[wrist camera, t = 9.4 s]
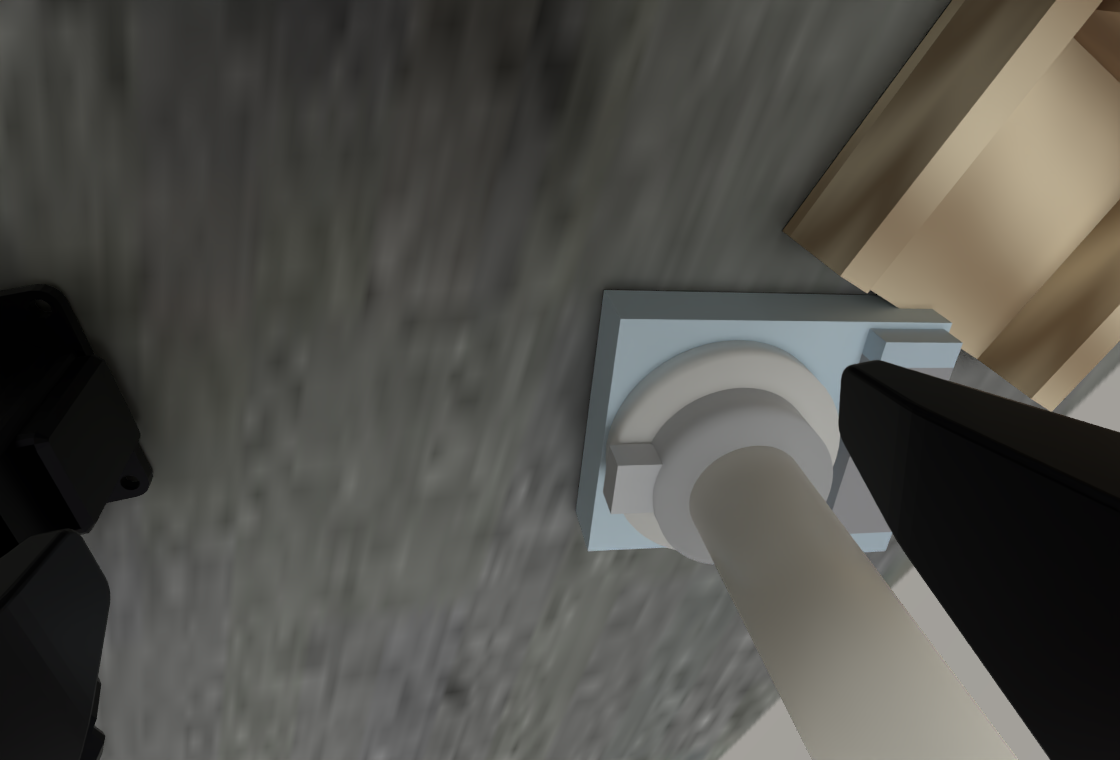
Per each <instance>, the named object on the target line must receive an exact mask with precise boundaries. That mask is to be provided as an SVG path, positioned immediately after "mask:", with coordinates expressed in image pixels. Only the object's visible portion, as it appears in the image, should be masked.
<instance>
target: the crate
mask: <svg viewBox="0 0 1120 760" xmlns="http://www.w3.org/2000/svg"><path fill="white" fill-rule="evenodd" d="M1073 38H1074V39H1075V40H1076V41H1077V42H1078V43H1079V44H1080V45H1081V46H1083V47H1084V48H1085V49H1086V50H1087V51H1088V52H1089V53H1090V54H1091V55H1092V56H1093V57H1094V58H1095V59H1096V60H1097V61H1098V62H1099V63H1100V64H1101V65H1102V66H1103V67H1104V68H1105V69H1106V70H1107V71H1108V72H1109V73H1110V74H1111V75H1112V76H1113V77H1114V78H1115V79H1116V80H1117V81H1118V82H1119V83H1120V0H1103V1H1102V2H1101V3H1100V5H1099V6H1098V7H1097V8H1096V10H1095V11H1094V12H1093V13H1092V15H1091V16H1090V17H1089V18H1088V19H1087V21H1086V22H1085V23H1084V24H1083V26H1082V27H1081V28H1080V29H1079V31H1078V32H1077V33H1076V34H1075V36H1074V37H1073Z"/></svg>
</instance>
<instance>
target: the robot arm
mask: <svg viewBox="0 0 1120 760" xmlns="http://www.w3.org/2000/svg"><path fill="white" fill-rule="evenodd" d="M35 299H36V300H43V301H45V302H47V303H48V304H49V305H50V306H51V310H52V311H51V312H46V311H43V310H41V309H39V308H38V307H37V305H36V303H35ZM838 426H839V432H840V436H841V439H842V442H843V444H844V446H845V447H846V449H847V451H848V453H849V455H850V457H851V459H852V460H853V462H854V464H855V466H856V468H857V470H858V471H859V473H860V475H861V477H862V479H863V481H864V482H865V484H866V486H867V488H868V490H869V492H870V494H871V495H872V497H873V499H874V501H875V503H876V505H877V506H878V508H879V510H880V512H881V514H882V516H883V517H884V519H885V521H886V523H887V525H888V527H889V528H890V530H891V532H892V533H893V535H894V537H895V539H896V540H897V542H898V543H899V545H900V546H901V548H902V549H903V551H904V552H905V554H906V555H907V557H908V558H909V560H910V561H911V562H912V564H913V565H914V567H915V568H916V569H917V571H918V572H919V574H920V575H921V577H922V578H923V580H924V581H925V582H926V584H927V585H928V587H929V588H930V590H931V591H932V592H933V594H934V595H935V596H936V598H937V599H938V601H939V602H940V604H941V605H942V607H943V608H944V609H945V611H946V612H947V614H948V615H949V616H950V618H951V619H952V621H953V622H954V624H955V625H956V626H957V628H958V629H959V631H960V632H961V634H962V635H963V636H964V638H965V639H966V641H967V642H968V644H969V645H970V646H971V648H972V649H973V651H974V652H975V654H976V655H977V656H978V658H979V659H980V661H981V662H982V663H983V665H984V666H985V668H986V669H987V671H988V672H989V673H990V675H991V676H992V678H993V679H994V681H995V682H996V683H997V685H998V686H999V688H1000V689H1001V691H1002V692H1003V693H1004V695H1005V696H1006V698H1007V699H1008V700H1009V702H1010V703H1011V705H1012V706H1013V707H1014V709H1015V710H1016V712H1017V713H1018V715H1019V716H1020V717H1021V719H1022V720H1023V722H1024V723H1025V725H1026V726H1027V727H1028V729H1029V730H1030V731H1031V733H1032V734H1033V736H1034V737H1035V739H1036V740H1037V742H1038V743H1039V744H1040V746H1041V747H1042V749H1043V750H1044V752H1045V753H1046V754H1047V756H1048V757H1049V759H1050V760H1120V432H1117V431H1113V430H1110V429H1107V428H1103V427H1100V426H1097V425H1093V424H1090V423H1087V422H1084V421H1080V420H1077V419H1074V418H1070V417H1067V416H1064V415H1060V414H1057V413H1054V412H1050V411H1047V410H1044V409H1041V408H1037V407H1034V406H1031V405H1027V404H1024V403H1021V402H1017V401H1014V400H1011V399H1007V398H1004V397H1001V396H998V395H994V394H991V393H988V392H984V391H981V390H978V389H974V388H971V387H968V386H964V385H961V384H958V383H954V382H951V381H948V380H945V379H941V378H938V377H935V376H931V375H928V374H925V373H921V372H918V371H915V370H911V369H908V368H905V367H902V366H898V365H895V364H892V363H888V362H885V361H882V360H872V361H867V362H862V363H857V364H853V365H849V366H847V367H846V368H845V369H844V370H843V373H842V376H841V385H840V401H839V418H838ZM140 436H141V435H140V431H139V429H138V427H137V425H136V423H135V421H134V419H133V417H132V415H131V413H130V411H129V409H128V407H127V405H126V403H125V401H124V399H123V397H122V395H121V393H120V391H119V388H118V386H117V384H116V382H115V380H114V378H113V376H112V374H111V372H110V370H109V368H108V366H107V364H106V362H105V361H104V360H103V359H101V358H100V357H98V356H97V355H95V354H94V353H93V351H92V349H91V347H90V345H89V343H88V341H87V339H86V337H85V335H84V333H83V331H82V329H81V327H80V325H79V323H78V321H77V319H76V317H75V315H74V313H73V311H72V308H71V306H70V304H69V302H68V300H67V298H66V297H65V296H64V295H63V293H62V292H61V291H59V290H58V289H56V288H55V287H52V286H49V285H46V284H37V285H31V286H26V287H20V288H15V289H10V290H4V291H0V760H100V757H101V755H102V752H103V746H104V740H105V735H104V733H103V732H102V731H101V730H100V729H98V728H97V727H96V726H94V725H95V722H96V719H97V712H98V704H99V697H100V689H101V682H100V680H99V678H98V673H99V667H100V661H101V655H102V649H103V643H104V637H105V631H106V625H107V618H108V612H109V606H110V589H109V585H108V582H107V580H106V577H105V576H104V574H103V572H102V571H101V569H100V567H99V565H98V564H97V562H96V560H95V558H94V557H93V555H92V553H91V552H90V550H89V548H88V546H87V545H86V543H85V541H84V540H83V538H82V537H81V535H82V534H86V533H89V532H90V531H91V530H92V528H93V527H94V525H95V524H96V522H97V520H98V518H99V516H100V514H101V512H102V510H103V508H104V506H105V504H106V503H108V502H113V501H118V500H123V499H127V498H132V497H137V496H140V495H142V494H144V493H145V492H146V491H147V490H148V488H149V486H150V484H151V481H152V478H153V474H152V470H151V468H150V466H149V464H148V462H147V460H146V458H145V456H144V454H143V452H142V450H141V448H140V446H139V444H138V440H139V438H140ZM125 476H134V477H136V478H137V479H138V480H139V481H138V482H132V481H130V480H128V479H127V478H126V477H125Z"/></svg>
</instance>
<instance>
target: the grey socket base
mask: <svg viewBox="0 0 1120 760" xmlns="http://www.w3.org/2000/svg"><path fill="white" fill-rule="evenodd" d="M951 325H952V322H950V321H949V320H947V319H946V318H945V317H943V316H942V315H940V314H939V313H938V312H936V311H935V310H933V309H902V308H898V307H896V306H895V305H893V304H891V303H890V302H888V301H887V300H885V299H884V298H882V297H881V296H879V295H839V294H788V293H736V292H685V291H634V290H604V294H603V302H602V310H601V317H600V325H599V333H598V341H597V349H596V356H595V364H594V372H593V380H592V388H591V396H590V403H589V411H588V419H587V427H586V435H585V443H584V450H583V458H582V466H581V474H580V482H579V490H578V497H577V505H576V514H577V517H578V520H579V524H580V527H581V530H582V533H583V537H584V540H585V543H586V547H587V550H588V551H600V550H621V549H642V548H664V547H667V548H670V549H674V548H673V547H672V546H671V545H670V544H669V543H668V541H667V540H666V538H665V537H664V535H663V533H662V531H661V529H660V527H659V524H658V522H657V520H656V517H655V515H654V513H653V512H652V513H628V514H611V513H610V511H609V508H608V505H607V502H606V500H605V497H604V494H603V487H604V480H605V473H606V465H607V458H608V451H609V445H619V444H651V442H652V440H653V439H654V437H655V435H656V434H657V433H658V431H659V430H660V429H661V427H662V426H663V425H664V424H665V423H666V422H667V421H668V420H669V419H670V418H671V417H672V416H673V415H674V414H675V413H677V412H678V411H679V410H681V409H682V408H683V407H685V406H686V405H688V404H690V403H691V402H693V401H695V400H697V399H699V398H701V397H703V396H706V395H708V394H711V393H714V392H718V391H721V390H726V389H732V388H756V389H762V390H766V391H769V392H772V393H775V394H777V395H779V396H781V397H783V398H784V399H786V400H787V401H788V402H790V403H791V404H792V405H793V406H794V407H795V408H796V409H797V410H798V411H799V413H800V414H801V415H802V416H803V417H804V419H805V420H806V421H807V422H808V423H809V425H810V426H811V427H812V428H813V429H814V431H815V432H816V433H817V434H818V435H819V437H820V438H821V439H822V440H823V442H824V443H825V445H826V446H827V449H828V451H829V453H830V456H831V460H832V465H833V479H832V485H831V489H830V493H829V495H828V498H827V501H826V503H827V504H828V506H829V507H830V508H831V510H832V511H833V512H834V514H835V515H836V516H837V518H838V519H839V520H840V522H841V523H842V524H843V526H844V527H845V528H846V530H847V531H848V532H849V534H850V535H851V536H852V538H853V539H854V540H855V542H856V543H857V544H858V546H859V547H860V548H861V550H862V551H863V552H876V551H886V548H887V545H888V543H889V540H890V537H891V535H892V532H891V530H890V528H889V527H888V525H887V523H886V521H885V519H884V517H883V516H882V514H881V512H880V510H879V508H878V506H877V505H876V503H875V501H874V499H873V497H872V495H871V494H870V492H869V490H868V488H867V486H866V484H865V482H864V481H863V479H862V477H861V475H860V473H859V471H858V470H857V468H856V466H855V464H854V462H853V460H852V459H851V457H850V455H849V453H848V451H847V449H846V447H845V446H844V444H843V442H842V439H841V436H840V432H839V426H838V418H839V401H840V385H841V376H842V373H843V370H844V369H845V368H846V367H847V366H849V365H853V364H857V363H862V362H867V361H872V360H882V361H885V362H888V363H892V364H895V365H898V366H902V367H905V368H908V369H911V370H915V371H918V372H921V373H925V374H928V375H931V376H935V377H938V378H941V379H945V380H948V381H949V379H950V376H951V373H952V371H953V368H954V365H955V363H956V360H957V357H958V355H959V352H960V349H961V347H962V344H963V343H962V342H961V341H960V340H958V339H957V338H956V337H954V336H953V335H951V334H950V333H949V331H950V328H951Z"/></svg>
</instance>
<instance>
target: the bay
mask: <svg viewBox="0 0 1120 760" xmlns="http://www.w3.org/2000/svg"><path fill="white" fill-rule="evenodd" d="M1102 1H1103V0H952V1H951V3H950V4H949V5H948V7H947V8H946V9H945V11H944V12H943V14H942V15H941V16H940V18H939V19H938V20H937V22H936V23H935V24H934V26H933V27H932V28H931V30H930V31H929V33H928V34H927V35H926V37H925V38H924V39H923V41H922V42H921V43H920V45H919V46H918V47H917V49H916V50H915V52H914V53H913V54H912V56H911V57H910V58H909V60H908V61H907V62H906V64H905V65H904V66H903V68H902V69H901V71H900V72H899V73H898V75H897V76H896V77H895V79H894V80H893V81H892V83H891V84H890V86H889V87H888V88H887V90H886V91H885V92H884V94H883V95H882V96H881V98H880V99H879V100H878V102H877V103H876V105H875V106H874V107H873V109H872V110H871V111H870V113H869V114H868V115H867V117H866V118H865V119H864V121H863V122H862V124H861V125H860V126H859V128H858V129H857V130H856V132H855V133H854V134H853V136H852V137H851V139H850V140H849V141H848V143H847V144H846V145H845V147H844V148H843V149H842V151H841V152H840V153H839V155H838V156H837V158H836V159H835V160H834V162H833V163H832V164H831V166H830V167H829V168H828V170H827V171H826V172H825V174H824V175H823V177H822V178H821V179H820V181H819V182H818V183H817V185H816V186H815V187H814V189H813V190H812V191H811V193H810V194H809V196H808V197H807V198H806V200H805V201H804V202H803V204H802V205H801V206H800V208H799V209H798V211H797V212H796V213H795V215H794V216H793V217H792V219H791V220H790V221H789V223H788V224H787V225H786V227H785V228H784V230H783V232H784V233H786V234H787V235H788V236H789V237H791V238H792V239H793V240H795V241H796V242H797V243H798V244H800V245H801V246H802V247H804V248H805V249H806V250H807V251H809V252H810V253H811V254H813V255H814V256H815V257H816V258H818V259H819V260H820V261H821V262H823V263H824V264H825V265H827V266H828V267H829V268H830V269H832V270H833V271H834V272H836V273H837V274H838V275H839V276H841V277H842V278H844V279H846V280H847V281H849V282H850V283H852V284H853V285H855V286H856V287H858V288H860V289H861V290H863V291H864V292H866V293H868V292H869V291H870V290H871V291H873V292H874V293H876V294H877V295H879V296H881V297H882V298H884V299H885V300H887V301H888V302H890V303H891V304H893V305H895V306H896V307H898V308H902V309H933V310H935V311H936V312H938V313H939V314H940V315H942V316H943V317H945V318H946V319H947V320H949V321H950V322H952V325H951V328H950V331H949V333H950V334H951V335H953V336H954V337H956V338H957V339H958V340H960V341H961V342H962V343H963V344H962V347H961V349H963V350H964V351H966V352H967V353H969V354H970V355H972V356H973V357H975V358H976V359H978V360H979V361H981V362H982V363H983V364H985V365H986V366H987V367H989V368H990V369H992V370H993V371H994V372H996V373H997V374H998V375H1000V376H1001V377H1002V378H1004V379H1005V380H1006V381H1008V382H1009V383H1010V384H1012V385H1013V386H1015V387H1016V388H1017V389H1019V390H1020V391H1021V392H1023V393H1024V394H1025V395H1027V396H1028V397H1029V398H1031V399H1032V400H1034V401H1035V402H1037V403H1039V404H1040V405H1042V406H1043V407H1045V408H1046V409H1048V410H1049V411H1051V412H1052V411H1053V410H1054V409H1055V408H1056V407H1057V406H1058V404H1059V403H1060V402H1061V401H1062V400H1063V399H1064V398H1065V397H1066V396H1067V395H1068V394H1069V393H1070V392H1071V391H1072V390H1073V389H1074V388H1075V387H1076V386H1077V385H1078V384H1079V383H1080V381H1081V380H1082V379H1083V378H1084V377H1085V376H1086V375H1087V374H1088V373H1089V372H1090V371H1091V370H1092V369H1093V368H1094V367H1095V366H1096V365H1097V364H1098V363H1099V362H1100V361H1101V360H1102V359H1103V357H1104V356H1105V355H1106V354H1107V353H1108V352H1109V351H1110V350H1111V349H1112V348H1113V347H1114V346H1115V345H1116V344H1117V343H1118V342H1119V341H1120V83H1119V82H1118V81H1117V80H1116V79H1115V78H1114V77H1113V76H1112V75H1111V74H1110V73H1109V72H1108V71H1107V70H1106V69H1105V68H1104V67H1103V66H1102V65H1101V64H1100V63H1099V62H1098V61H1097V60H1096V59H1095V58H1094V57H1093V56H1092V55H1091V54H1090V53H1089V52H1088V51H1087V50H1086V49H1085V48H1084V47H1083V46H1081V45H1080V44H1079V43H1078V42H1077V41H1076V40H1075V39H1074V38H1073V37H1074V36H1075V34H1076V33H1077V32H1078V31H1079V29H1080V28H1081V27H1082V26H1083V24H1084V23H1085V22H1086V21H1087V19H1088V18H1089V17H1090V16H1091V15H1092V13H1093V12H1094V11H1095V10H1096V8H1097V7H1098V6H1099V5H1100V3H1101V2H1102Z"/></svg>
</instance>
